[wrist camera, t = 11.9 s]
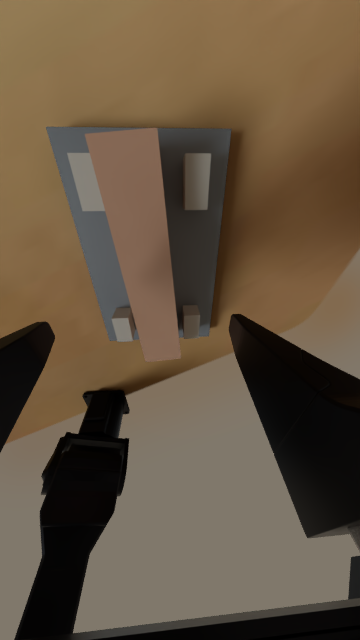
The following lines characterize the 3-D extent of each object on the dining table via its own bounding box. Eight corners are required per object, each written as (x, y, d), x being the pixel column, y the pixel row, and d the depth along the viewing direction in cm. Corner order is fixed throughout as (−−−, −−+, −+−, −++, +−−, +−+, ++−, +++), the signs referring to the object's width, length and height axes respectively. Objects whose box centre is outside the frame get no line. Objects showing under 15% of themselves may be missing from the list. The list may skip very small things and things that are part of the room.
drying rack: (206, 328, 24) (212, 347, 21) (112, 332, 23) (105, 352, 20) (225, 134, 13) (241, 118, 11) (57, 133, 13) (26, 115, 10)
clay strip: (178, 330, 22) (181, 358, 18) (149, 333, 22) (145, 361, 18) (159, 147, 12) (157, 127, 9) (108, 151, 12) (84, 133, 9)
